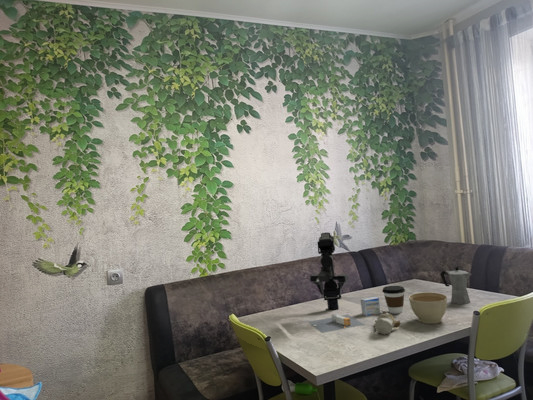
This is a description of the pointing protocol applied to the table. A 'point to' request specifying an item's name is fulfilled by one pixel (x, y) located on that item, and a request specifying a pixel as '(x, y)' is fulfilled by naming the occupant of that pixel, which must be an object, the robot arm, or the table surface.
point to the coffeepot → (457, 285)
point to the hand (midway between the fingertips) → (330, 295)
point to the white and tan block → (341, 319)
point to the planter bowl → (428, 306)
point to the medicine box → (370, 306)
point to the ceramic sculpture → (385, 323)
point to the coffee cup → (394, 298)
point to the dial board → (333, 324)
